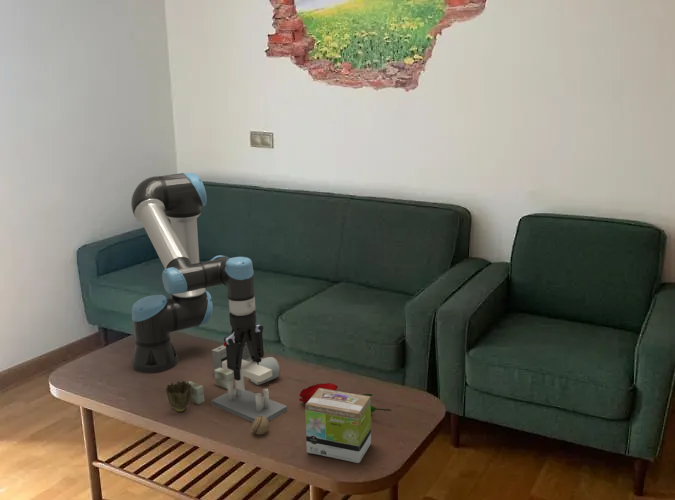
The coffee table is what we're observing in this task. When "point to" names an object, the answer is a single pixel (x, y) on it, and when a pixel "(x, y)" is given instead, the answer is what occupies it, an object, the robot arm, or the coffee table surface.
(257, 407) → the peg stand
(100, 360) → the coffee table surface
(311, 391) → the flower
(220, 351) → the cassette player
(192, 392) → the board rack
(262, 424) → the walnut
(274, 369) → the ceramic mug
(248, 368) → the shelf board
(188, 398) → the cup
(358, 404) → the tea box
